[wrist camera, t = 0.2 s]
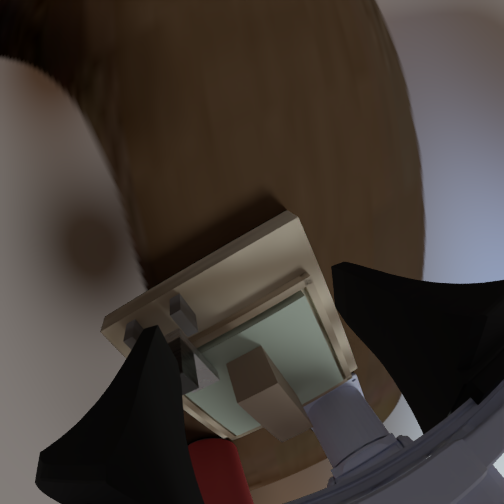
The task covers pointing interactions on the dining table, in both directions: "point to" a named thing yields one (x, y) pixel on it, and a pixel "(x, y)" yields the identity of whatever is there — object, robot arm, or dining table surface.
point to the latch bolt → (191, 363)
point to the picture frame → (235, 298)
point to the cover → (269, 371)
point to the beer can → (219, 472)
